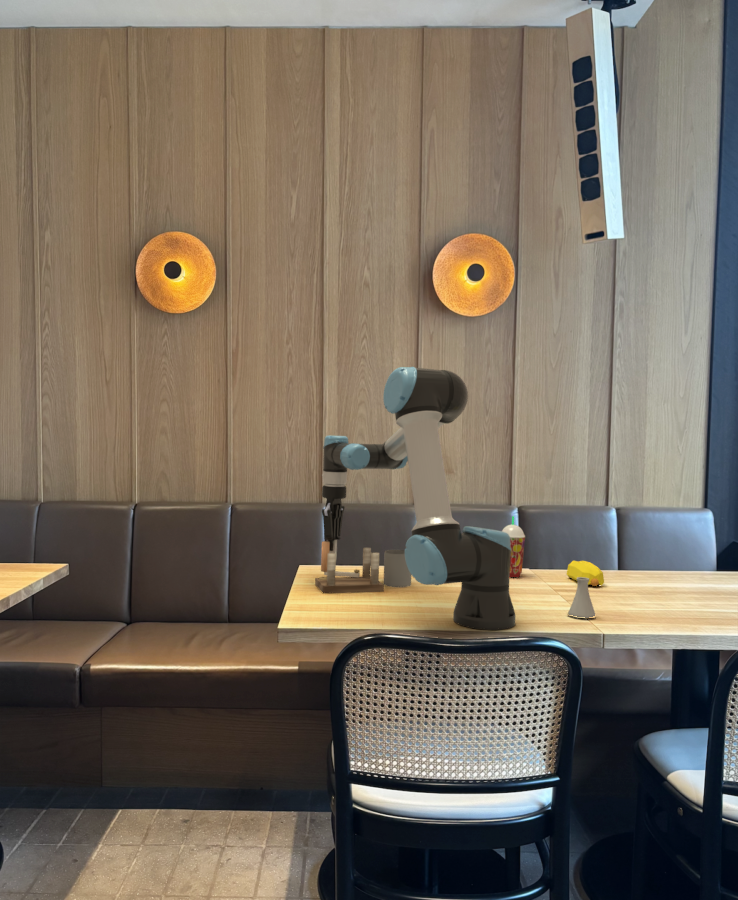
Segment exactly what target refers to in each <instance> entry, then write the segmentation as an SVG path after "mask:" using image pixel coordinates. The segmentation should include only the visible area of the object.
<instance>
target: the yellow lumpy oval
mask: <svg viewBox="0 0 738 900" xmlns="http://www.w3.org/2000/svg"><path fill="white" fill-rule="evenodd" d="M566 576H567V577H568V578H569V579H570V578H572V579H574V580H573V581H575V580H576V581H575V582H578V581H577V577H585V578H589V582H588V586H591V585H592V586H591V587H593V586H596V587H598V586H597V585H602V586H603V584H605V578H604V577H605V576H604V572H603V570H601V569H600V568H599V567H598V566H597V565H595V564H594V563H592V562H589V561H586V560H580V561H577V560H572V561H571V562H569V563H568V565H567V570H566ZM572 579H571V580H572Z"/></svg>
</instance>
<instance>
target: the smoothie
mask: <svg viewBox="0 0 738 900" xmlns="http://www.w3.org/2000/svg"><path fill="white" fill-rule="evenodd" d="M501 531H502V532H506V533H507V534H508V535H509V536H510V548H511V555H510V577H518V578H520V577H519V576H521V575H522V572H523V563H524V562H523V561H524V555H525V554H524V552H525V551H524V550H525V544H526V543H525V542H526V541H525V540H526V535H525V533H524V531H523V529H522V528H521V527H520V526H519V525H517V524H515V516H514V515H513V516H511V524H507V525H505V526H504V527H503V529H502V530H501Z"/></svg>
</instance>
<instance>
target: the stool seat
mask: <svg viewBox="0 0 738 900" xmlns="http://www.w3.org/2000/svg"><path fill="white" fill-rule="evenodd" d="M336 563H337V558H336V554H335V553H328V557H327V575H326V576H319V577H315V579H314V585H315V586H316V587H317V588H318V589H319V591H320V590H321V591H322V592H323V593H322V592H321V591H320V592H321V593H322V594H346V593H349V594H351V593H353V594H354V593H376V592H377V593H378V592H379V593H380V592H381V593H382V592H384V591H385V585H384V583H382V582H381V581H380V578H379V577H380V576H379V575H380V570H379V569H380V552H375V551H373V552H372V548H371V547H363V548H362V572H361V571H360V569H354V570H353V571H354V573H360V572H361V573H362V576H359V577H347V576H335V571H336V566H337V565H336Z"/></svg>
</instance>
